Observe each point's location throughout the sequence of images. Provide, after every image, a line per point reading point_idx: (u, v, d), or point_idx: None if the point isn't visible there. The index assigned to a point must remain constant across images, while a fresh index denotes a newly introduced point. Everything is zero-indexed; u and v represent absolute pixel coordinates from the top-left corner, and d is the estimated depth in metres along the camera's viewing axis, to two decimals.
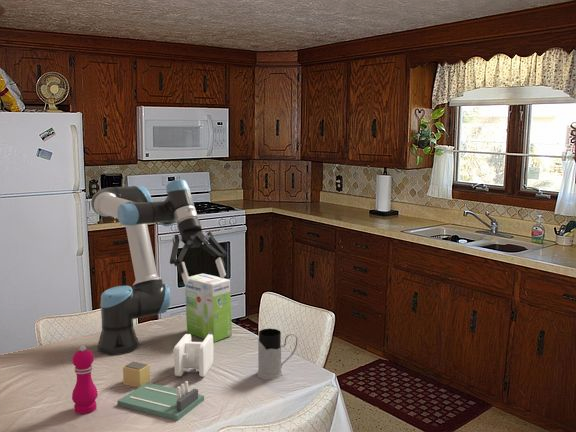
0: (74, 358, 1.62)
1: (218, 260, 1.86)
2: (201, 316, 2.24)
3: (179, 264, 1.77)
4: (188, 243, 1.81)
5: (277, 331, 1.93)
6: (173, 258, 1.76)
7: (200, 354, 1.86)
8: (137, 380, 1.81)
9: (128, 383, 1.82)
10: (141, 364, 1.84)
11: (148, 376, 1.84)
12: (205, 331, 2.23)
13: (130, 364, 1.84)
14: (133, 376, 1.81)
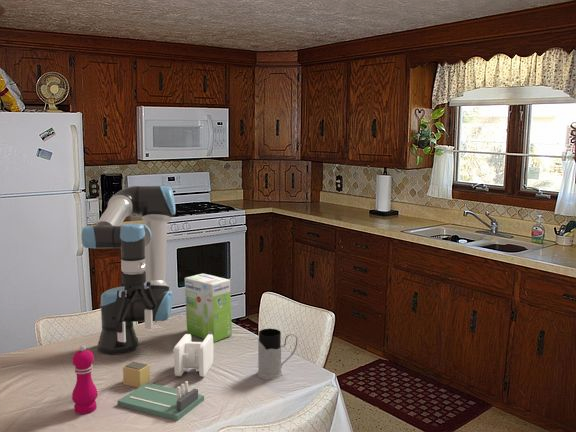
0: (74, 358, 1.62)
1: (149, 312, 1.87)
2: (201, 316, 2.24)
3: (120, 324, 1.74)
4: (132, 300, 1.77)
5: (277, 331, 1.93)
6: (117, 320, 1.72)
7: (200, 354, 1.86)
8: (137, 380, 1.81)
9: (128, 383, 1.82)
10: (141, 364, 1.84)
11: (148, 376, 1.84)
12: (205, 331, 2.23)
13: (130, 364, 1.84)
14: (133, 376, 1.81)
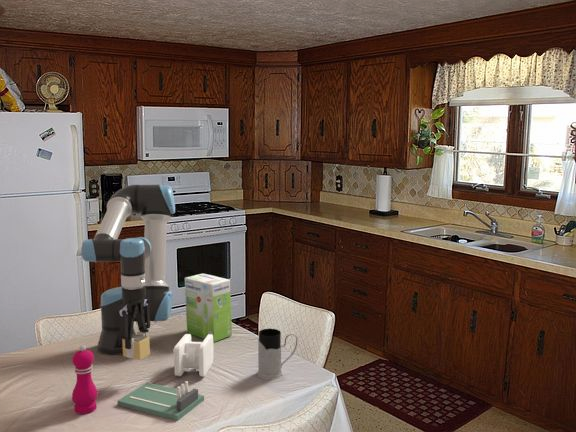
0: (74, 358, 1.62)
1: (142, 335, 1.84)
2: (201, 316, 2.24)
3: (129, 341, 1.79)
4: (134, 316, 1.79)
5: (277, 331, 1.93)
6: (126, 337, 1.76)
7: (200, 354, 1.86)
8: (137, 352, 1.80)
9: None
10: (141, 336, 1.83)
11: (148, 348, 1.83)
12: (205, 331, 2.23)
13: None
14: None
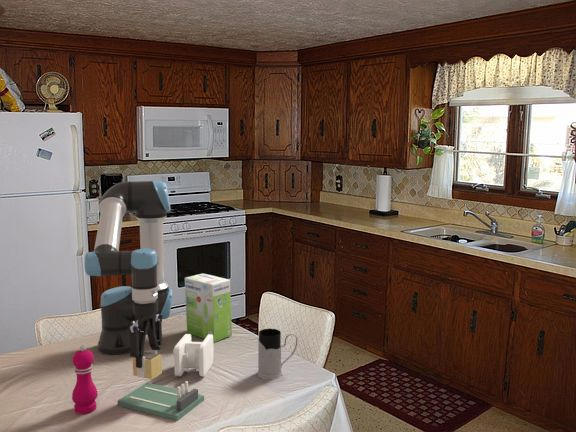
0: (74, 358, 1.62)
1: None
2: (201, 316, 2.24)
3: (140, 359, 1.66)
4: (146, 332, 1.67)
5: (277, 331, 1.93)
6: (137, 355, 1.64)
7: (200, 354, 1.86)
8: (148, 371, 1.68)
9: None
10: (152, 354, 1.71)
11: (160, 367, 1.71)
12: (205, 331, 2.23)
13: None
14: None
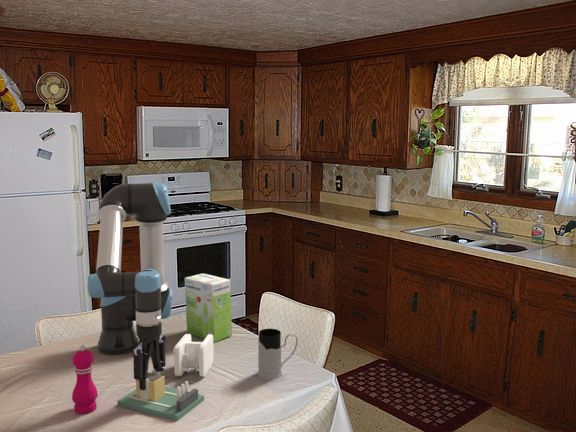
0: (74, 358, 1.62)
1: (157, 374, 1.73)
2: (201, 316, 2.24)
3: (143, 381, 1.67)
4: (149, 354, 1.67)
5: (277, 331, 1.93)
6: (141, 378, 1.65)
7: (200, 354, 1.86)
8: (151, 393, 1.68)
9: None
10: (155, 375, 1.71)
11: (163, 388, 1.72)
12: (205, 331, 2.23)
13: None
14: None
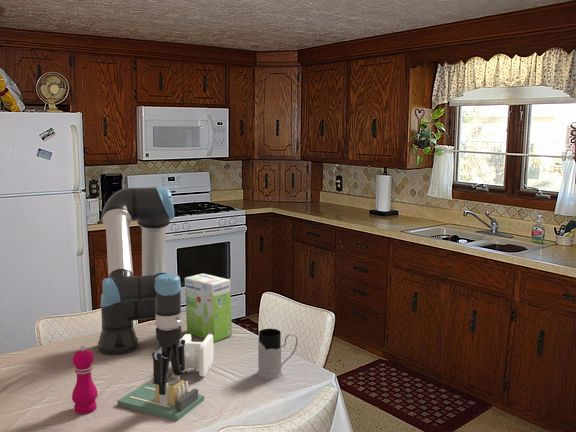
0: (74, 358, 1.62)
1: (176, 378, 1.70)
2: (201, 316, 2.24)
3: (163, 386, 1.64)
4: (169, 359, 1.64)
5: (277, 331, 1.93)
6: (161, 383, 1.62)
7: (200, 354, 1.86)
8: (171, 397, 1.65)
9: None
10: (175, 380, 1.69)
11: None
12: (205, 331, 2.23)
13: None
14: None
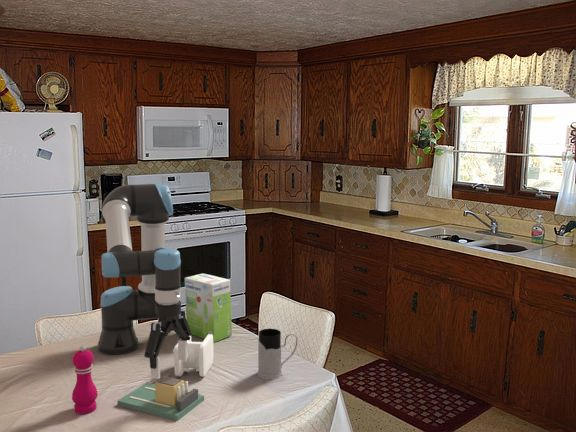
0: (74, 358, 1.62)
1: (183, 343, 1.73)
2: (201, 316, 2.24)
3: (154, 359, 1.59)
4: (166, 333, 1.62)
5: (277, 331, 1.93)
6: (152, 355, 1.57)
7: (200, 354, 1.86)
8: (171, 397, 1.65)
9: (161, 400, 1.67)
10: (175, 380, 1.69)
11: None
12: (205, 331, 2.23)
13: (163, 380, 1.69)
14: (166, 393, 1.66)
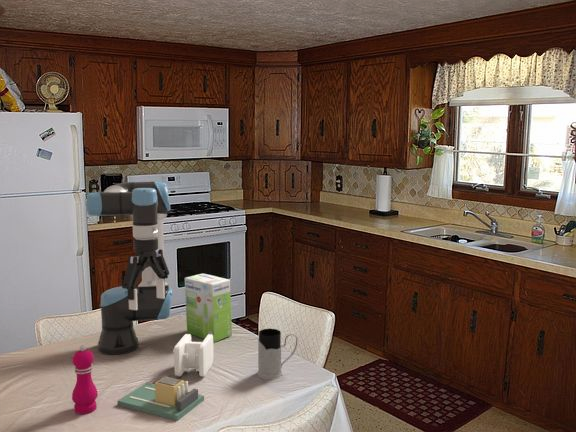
0: (74, 358, 1.62)
1: (161, 281, 1.80)
2: (201, 316, 2.24)
3: (132, 291, 1.67)
4: (144, 267, 1.70)
5: (277, 331, 1.93)
6: (129, 286, 1.65)
7: (200, 354, 1.86)
8: (171, 397, 1.65)
9: (161, 400, 1.67)
10: (175, 380, 1.69)
11: None
12: (205, 331, 2.23)
13: (163, 380, 1.69)
14: (166, 393, 1.66)
